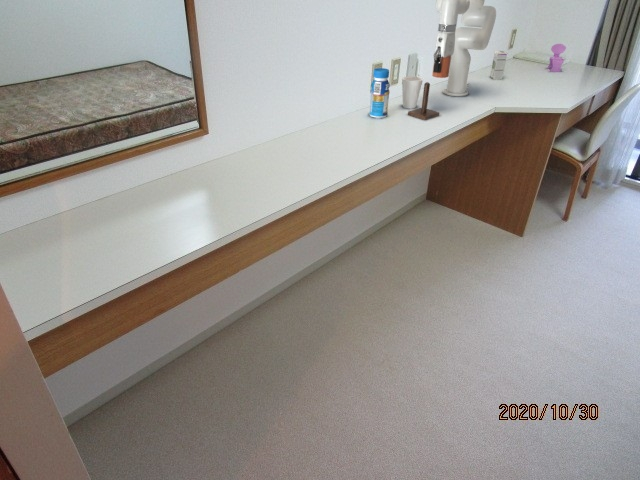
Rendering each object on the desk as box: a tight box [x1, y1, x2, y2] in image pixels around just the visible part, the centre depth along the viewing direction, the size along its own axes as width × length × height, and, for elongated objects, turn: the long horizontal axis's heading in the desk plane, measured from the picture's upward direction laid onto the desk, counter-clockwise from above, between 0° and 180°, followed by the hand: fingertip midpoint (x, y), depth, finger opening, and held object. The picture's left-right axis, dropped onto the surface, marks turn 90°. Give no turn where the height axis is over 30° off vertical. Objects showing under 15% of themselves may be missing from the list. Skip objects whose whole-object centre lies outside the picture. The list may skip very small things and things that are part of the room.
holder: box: [407, 82, 440, 121], centre depth 201 cm, size 10×10×15 cm
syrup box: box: [489, 50, 508, 80], centre depth 260 cm, size 6×6×14 cm
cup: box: [431, 55, 452, 79], centre depth 204 cm, size 7×7×9 cm
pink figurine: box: [546, 43, 567, 73], centre depth 276 cm, size 8×9×15 cm
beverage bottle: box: [369, 67, 391, 119], centre depth 200 cm, size 8×8×20 cm
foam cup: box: [401, 75, 423, 109], centre depth 213 cm, size 10×9×13 cm
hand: (441, 70), depth 205 cm, fingers closed on cup, 7 cm apart
